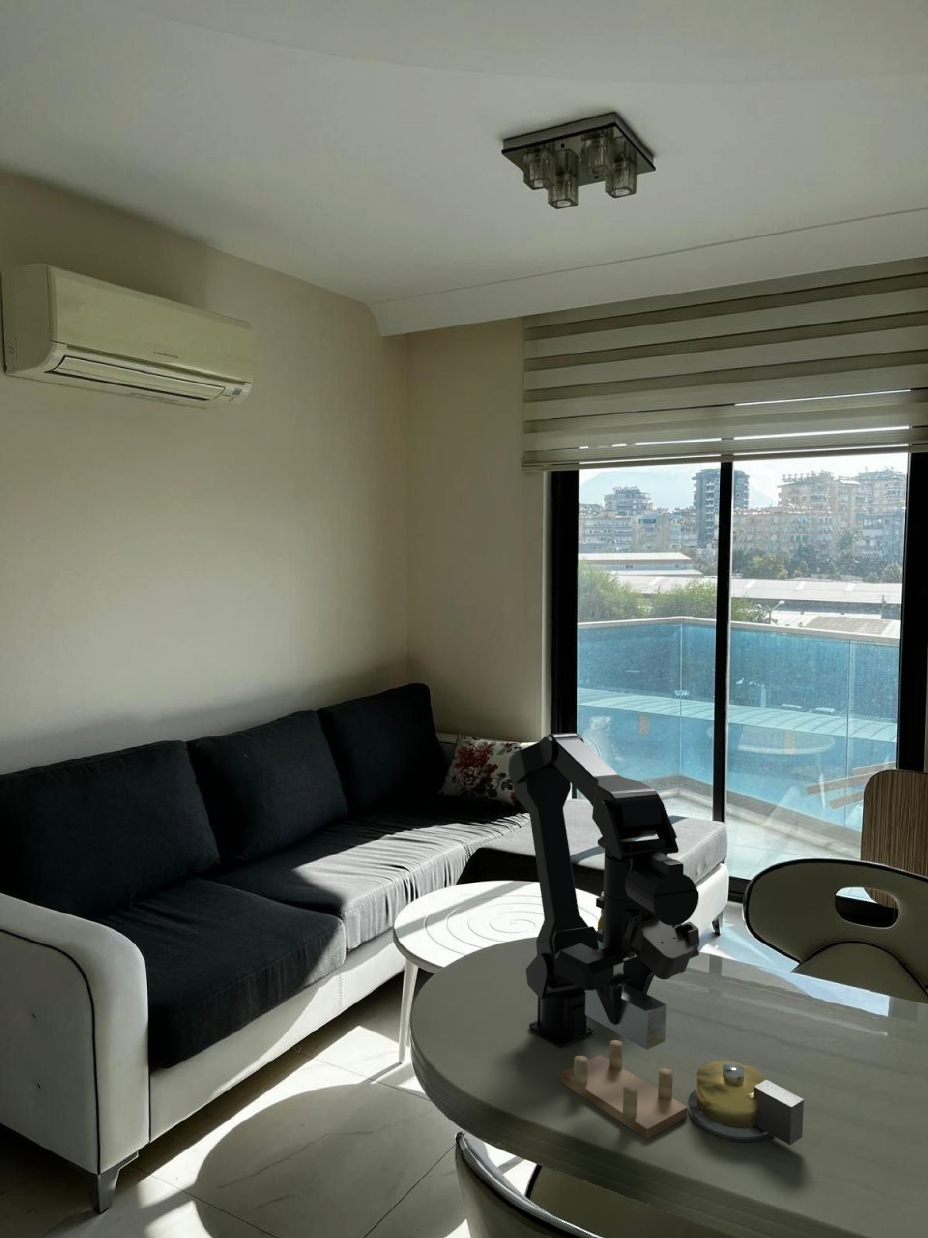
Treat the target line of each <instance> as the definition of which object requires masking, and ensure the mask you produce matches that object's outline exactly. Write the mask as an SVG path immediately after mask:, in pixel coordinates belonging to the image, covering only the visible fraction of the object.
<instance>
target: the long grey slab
mask: <svg viewBox="0 0 928 1238" xmlns="http://www.w3.org/2000/svg"><path fill="white" fill-rule="evenodd" d="M585 992H586V995H585V1015H586V1016H587V1017H588V1018H590V1019H592V1020H593V1021H595V1022H596V1023H599V1024H600V1025H602V1026H604V1027H605V1028H607V1029H609V1030H611V1031H612V1032H615V1033H617V1034H618V1035H620V1036H621V1037H622V1038H623V1037H624V1038H625V1039H626V1040H629V1041H630V1042H632V1043H634V1044H635V1045H637V1046H639V1047H640V1048H642V1049H644V1050H646V1051H648V1050H651V1049H652V1048H654V1047H657V1046H658V1045H661V1044H662V1043H665V1042H666V1032H667V1031H666V1027H667V1003H665V1002H662V1001H661V1000H659V999H657V998H655V997H653V996H651V995H649V994H648V993H647V994H645V993H643V992H641V991H639V990H637V989H635V988H633V987H631V986H629V985H627V984H625V985H623V987H622V998H621V1009H620V1017H619V1023H618V1025H614V1024H612V1023H610V1021H609V1019H608V1017H607V1015H606V1012H605V1010H604V1008H603V1005H602V1003H601V1001H600V999H599V996H598V994H597V992H596V990H593V991H592V990H586V991H585Z"/></svg>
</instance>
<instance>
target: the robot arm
mask: <svg viewBox="0 0 928 1238" xmlns="http://www.w3.org/2000/svg"><path fill="white" fill-rule="evenodd" d="M508 775H509V779H510V782H512V786H513V790H514V791H513V792H514V796H515V797H516V799H517V800H518V801H519V803H520V804H521V805H522V807H523V808H524V809H525V810H526V812H528V815H529V820H530V827H531V833H532V840H533V846H534V847H533V848H534V853H535V855H534V856H535V861H536V869H537V875H538V882H539V888H540V896H541V901H542V902H541V903H542V910H543V917H544V918H543V919H544V920H543V922H542V925H541V928H540V930H539V933H538V936H537V938H536V942H535V946H536V956H535V957H534V958H533V960H532V961H531V962H530V963H529V964H528V966H527V967H526V968H525V974H526V975H525V976H526V984H527V986H528V987H529V988H530V989H531V990H532V991H533V993H534V994H535V995H536V996H537V1016H536V1017H537V1020H534V1021H533V1022H530V1023H529V1024H528V1027H529V1029H530V1030H531V1031H533V1032H534V1033H535V1034H538V1035H539V1036H541V1037H543V1038H544V1039H546V1040H548V1041H549V1042H551V1043H552V1044H554V1045H555V1046H557V1047H558V1048H559V1047H560V1048H561V1047H564V1046H567V1045H569V1044H571V1043H573V1042H576V1041H578V1040H580V1039H582V1038H585V1037H587V1036H589V1035H591V1034H593V1033H594V1029H593V1028H592V1027H591V1026H589V1025H587V1022H588V1021H587V1019H588V1018H587V1017H588V1016H586V1015H585V995H586V990H592V991H593V990H596V992H597V994H598V996H599V999H600V1001H601V1003H602V1005H603V1008H604V1010H605V1012H606V1015H607V1017H608V1019H609V1021H610V1023H612V1024H614V1025H618V1023H619V1017H620V1009H621V998H622V987H623V985H625V984H627V985H629V986H631V987H633V988H635V989H637V990H639V991H641V992H643V993H645V994H647V995H648V993H649V989H650V986H651V983H652V982H653V980H654V978H655V977H656V978H658V979H660V980H669V979H670V978H671V977H672V976H675V975H676V976H677V975H678V974H683V973H685V972H686V970H687V968H688V965H689V964H690V963H689V962H690V960H691V959H692V958H696V957H698V956H699V954H700V951H699V949H698V947H699V946H700V935H699V933H700V931H699V927H698V926H696V925H695V924H694V923H693V922H692V921H689V919H690V918H692V916H693V915H694V913H695V912H696V909H697V907H698V903H699V898H700V897H699V896H700V895H699V891H698V889H697V885H696V883H695V882H694V881H693V879H692V878H691V877H689V876H688V875H686V874H685V873H684V870H685V869H684V867H685V866H684V863H683V862H682V861H680V860H677V859H675V858H674V859H673V858H671V857H669V856H668V855H673V854H678V853H679V850H680V849H679V846H678V843H677V840H676V839H677V838H678V836H677V833H676V831H675V829H674V826H673V823H671V820H670V818H669V815H668V812H667V809H666V807H665V803H664V801H663V799H662V798H661V796H660V794H659V793H658V792H657V790H656V789H654V788H653V787H651V786H649V785H647V784H646V783H644V782H642V781H640V780H635V779H631V778H627V777H623V776H622V775H620V774H618V773H617V772H616V771H615V770H614V769H613V768H612V767H611V766H610V765H608V763H606V761H604V760H603V759H602V758H601V757H600V756H599V755H597V754H596V752H594V751H593V750H592V749H591V748H590V747H589V746H588V745H586V743H585V742H584V739H583V737H582V736H581V735H580V734H577V733H575V732H564V733H550V734H547V736H546V735H545V736H544V737H542V738H541V739H540V740H539V741H537V742H536V743H533V744H531V745H529V746H526V747H524V748H522V749H520V750H517V751H516V752H515V754H514V756H512V758H511V759H510V760H509V763H508ZM572 785H573V787H575V788H576V790H578V792H579V793H580V794H582V796H584V798H585V799H586V800H587V801H588V802H589V803H590V805H591V806H592V814H591V819H592V821H594V824H595V826H597V828H598V830H599V832H600V834H601V836H600V838H598V840H597V844H598V846H599V847H601V848H603V849H604V865H603V866H604V869H603V870H604V871H603V891H604V896H602V897H601V896H598V897H596V898H595V907H596V908H599V909H600V910H601V909H603V929H601V930H598V929H597V930H596V929H595V926H594V925H593V926H592V925H591V926H589V925H588V924H587V922H586V921H585V920H584V919H583V917H582V916H581V914H580V909H579V903H578V897H577V891H576V883H575V878H574V870H573V864H572V858H571V852H570V844H569V840H568V833H567V828H566V827H567V826H566V819H565V814H564V806H565V804H566V802H567V799H568V797H569V794H570V791H571V789H572ZM654 836H657V837H658V838H650V839H642V840H641V839H640V840H635V839H639V838H645V837H646V838H648V837H654ZM686 921H687V922H686ZM598 941H599V942H601V943H603V947H604V948H601V949H599V946H598ZM623 972H624V974H623Z"/></svg>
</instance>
